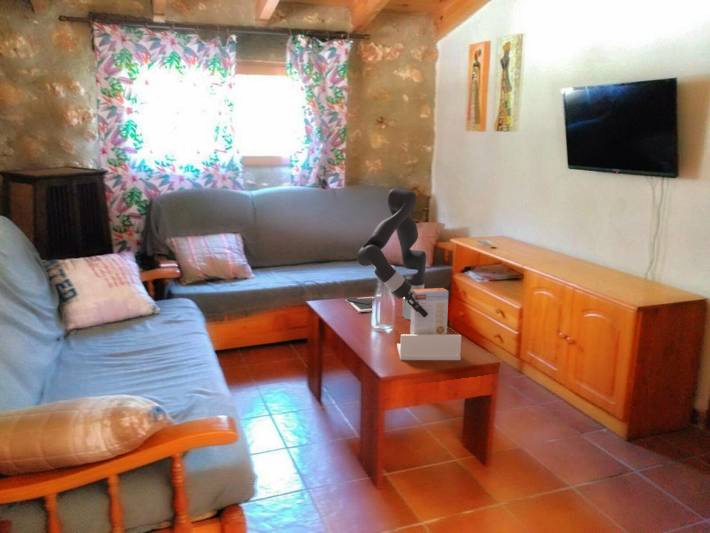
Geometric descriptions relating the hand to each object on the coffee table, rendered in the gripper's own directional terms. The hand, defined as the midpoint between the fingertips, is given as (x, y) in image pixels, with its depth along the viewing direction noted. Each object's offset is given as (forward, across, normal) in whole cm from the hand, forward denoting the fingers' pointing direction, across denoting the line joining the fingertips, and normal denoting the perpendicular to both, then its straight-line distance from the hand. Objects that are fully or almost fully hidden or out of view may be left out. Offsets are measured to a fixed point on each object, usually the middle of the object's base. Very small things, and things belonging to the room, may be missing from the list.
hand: (424, 312), depth 236 cm
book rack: (+14, 0, +11) cm, 18 cm away
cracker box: (+9, 0, +7) cm, 12 cm away
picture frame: (-1, +64, +27) cm, 69 cm away
